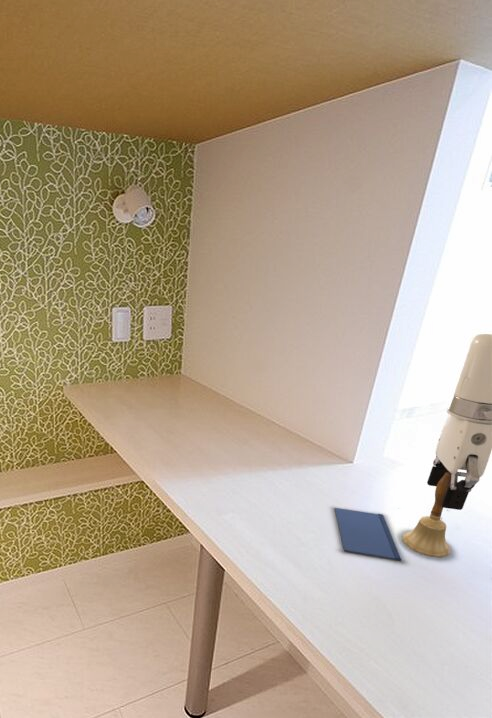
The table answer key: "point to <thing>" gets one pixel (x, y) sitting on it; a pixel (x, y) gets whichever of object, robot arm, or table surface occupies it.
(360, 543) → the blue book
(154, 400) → the table surface
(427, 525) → the hand bell
